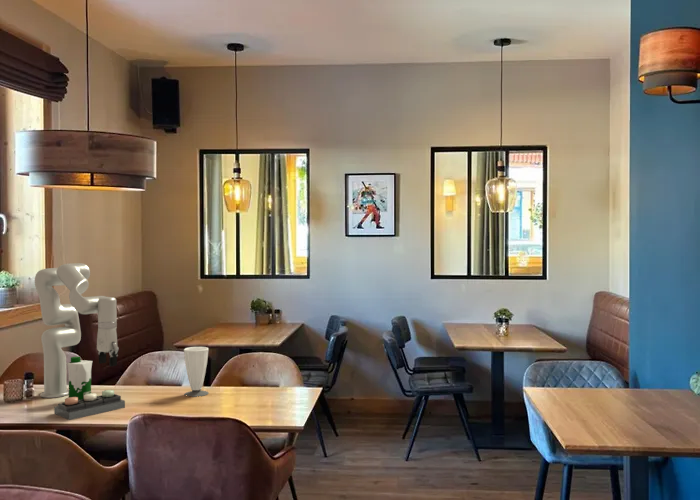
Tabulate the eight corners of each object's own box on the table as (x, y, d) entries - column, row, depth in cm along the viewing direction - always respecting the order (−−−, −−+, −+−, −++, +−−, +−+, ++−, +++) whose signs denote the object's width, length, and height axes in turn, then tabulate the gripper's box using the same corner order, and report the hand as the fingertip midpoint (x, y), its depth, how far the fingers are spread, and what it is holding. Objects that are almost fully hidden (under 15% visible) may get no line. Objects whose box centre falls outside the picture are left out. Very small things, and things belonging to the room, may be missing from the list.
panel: (54, 413, 248) (54, 402, 248) (109, 402, 266) (109, 391, 266) (69, 420, 239) (69, 408, 239) (124, 407, 257) (124, 397, 257)
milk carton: (77, 398, 273) (77, 355, 273) (95, 399, 271) (94, 356, 271) (64, 403, 264) (64, 359, 264) (82, 404, 262) (82, 359, 262)
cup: (213, 393, 282) (213, 347, 282) (195, 398, 273) (195, 351, 272) (197, 389, 289) (196, 345, 288) (178, 394, 279) (178, 349, 279)
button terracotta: (62, 403, 246) (62, 398, 246) (74, 401, 250) (74, 396, 250) (67, 405, 243) (67, 400, 243) (80, 403, 247) (80, 398, 247)
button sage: (99, 395, 259) (99, 391, 259) (110, 393, 262) (110, 389, 262) (105, 397, 255) (105, 393, 255) (116, 395, 259) (116, 391, 259)
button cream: (81, 399, 252) (81, 394, 252) (93, 397, 256) (93, 392, 256) (87, 401, 249) (87, 396, 249) (98, 399, 253) (98, 394, 253)
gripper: (89, 324, 261) (90, 363, 261) (108, 328, 250) (109, 368, 250) (106, 323, 267) (106, 360, 267) (125, 326, 255) (125, 365, 255)
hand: (107, 364), depth 258 cm, fingers open, 9 cm apart
